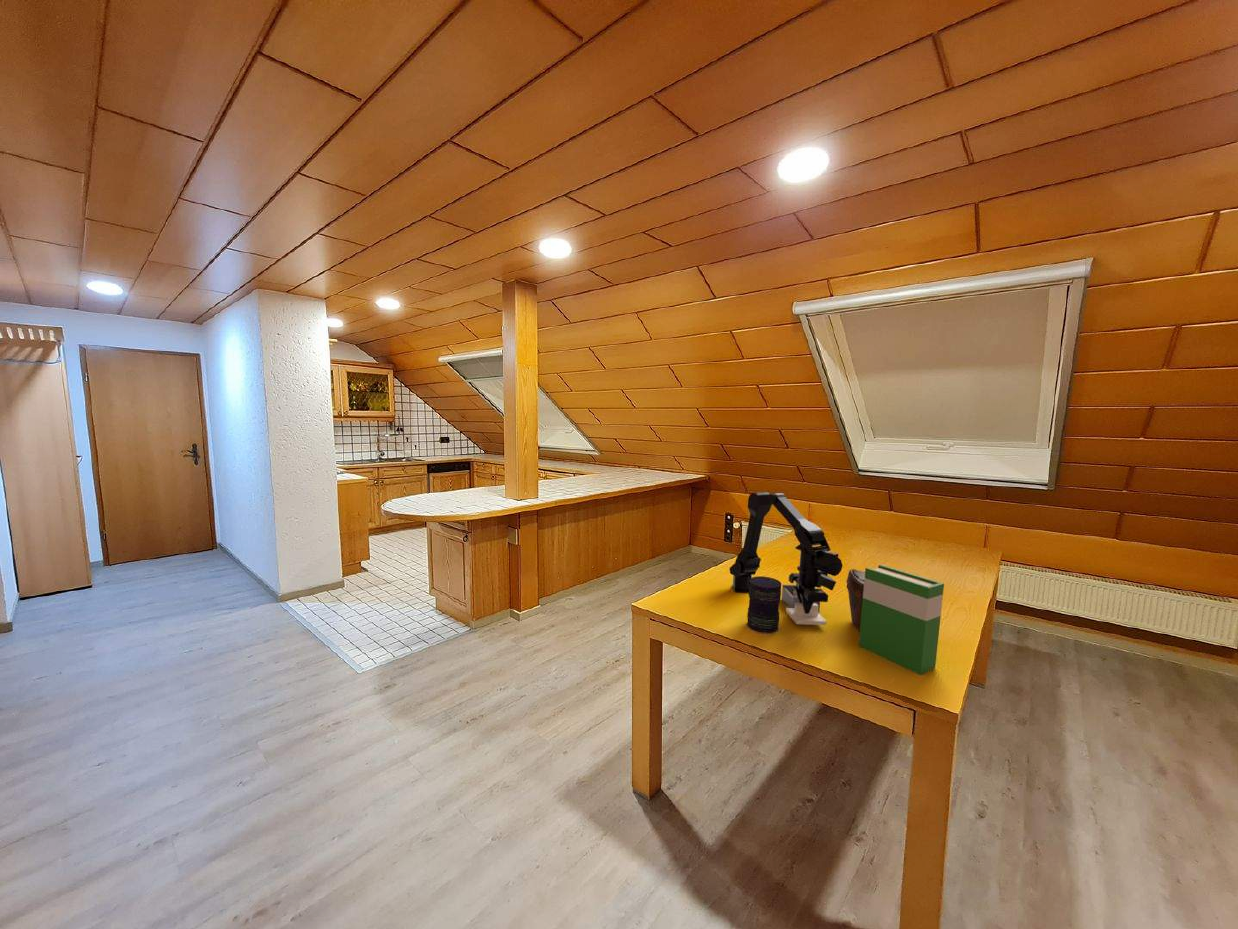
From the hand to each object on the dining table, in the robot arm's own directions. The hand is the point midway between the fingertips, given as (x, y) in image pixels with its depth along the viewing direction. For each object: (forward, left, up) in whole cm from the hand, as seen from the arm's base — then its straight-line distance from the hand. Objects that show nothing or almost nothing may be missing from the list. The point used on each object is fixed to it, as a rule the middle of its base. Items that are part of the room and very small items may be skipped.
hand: (805, 612), depth 159 cm
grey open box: (+3, +13, -4) cm, 14 cm away
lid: (0, 0, -2) cm, 2 cm away
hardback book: (+18, -21, -4) cm, 28 cm away
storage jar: (-15, -4, -4) cm, 16 cm away
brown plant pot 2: (+22, -2, -4) cm, 22 cm away
